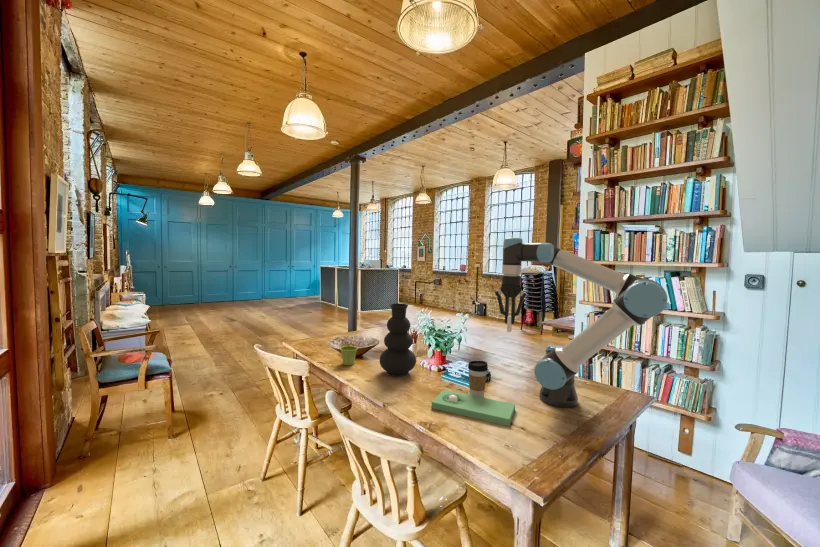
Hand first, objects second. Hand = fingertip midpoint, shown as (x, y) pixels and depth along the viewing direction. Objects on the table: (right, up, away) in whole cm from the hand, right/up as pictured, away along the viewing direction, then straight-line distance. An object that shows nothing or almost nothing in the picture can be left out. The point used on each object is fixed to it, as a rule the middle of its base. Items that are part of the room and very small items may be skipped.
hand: (509, 331), depth 146 cm
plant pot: (-75, -25, +43) cm, 90 cm away
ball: (-24, -27, -5) cm, 37 cm away
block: (-17, -30, -8) cm, 35 cm away
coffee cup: (-13, -29, +4) cm, 32 cm away
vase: (-48, -26, +30) cm, 62 cm away
